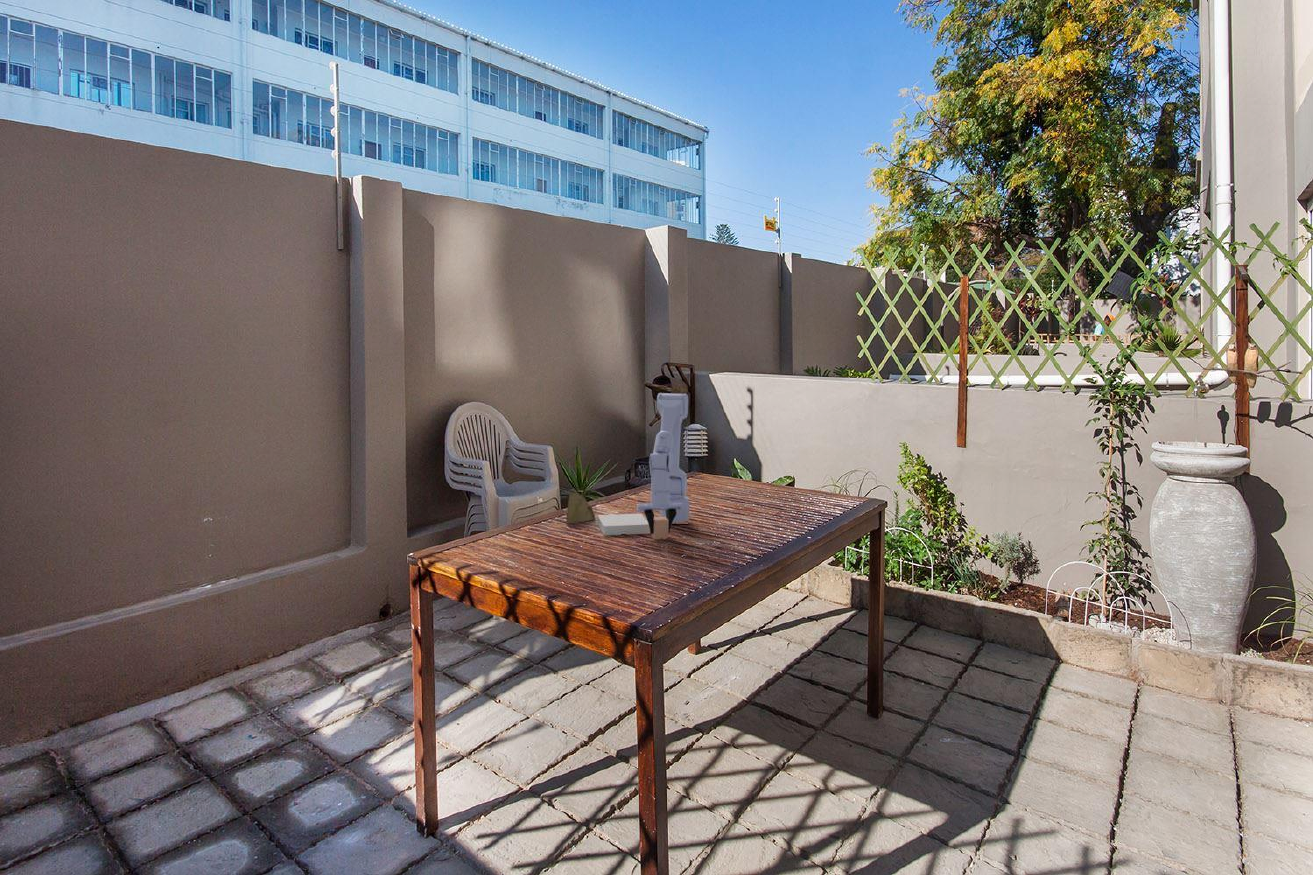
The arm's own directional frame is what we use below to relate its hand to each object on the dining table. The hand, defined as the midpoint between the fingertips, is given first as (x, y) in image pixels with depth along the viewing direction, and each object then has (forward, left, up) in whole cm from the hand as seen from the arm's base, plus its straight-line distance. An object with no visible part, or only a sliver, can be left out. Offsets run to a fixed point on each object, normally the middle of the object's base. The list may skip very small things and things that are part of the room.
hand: (659, 532), depth 229 cm
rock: (+22, -25, -2) cm, 33 cm away
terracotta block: (0, 0, -1) cm, 1 cm away
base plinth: (+9, -13, -1) cm, 16 cm away
